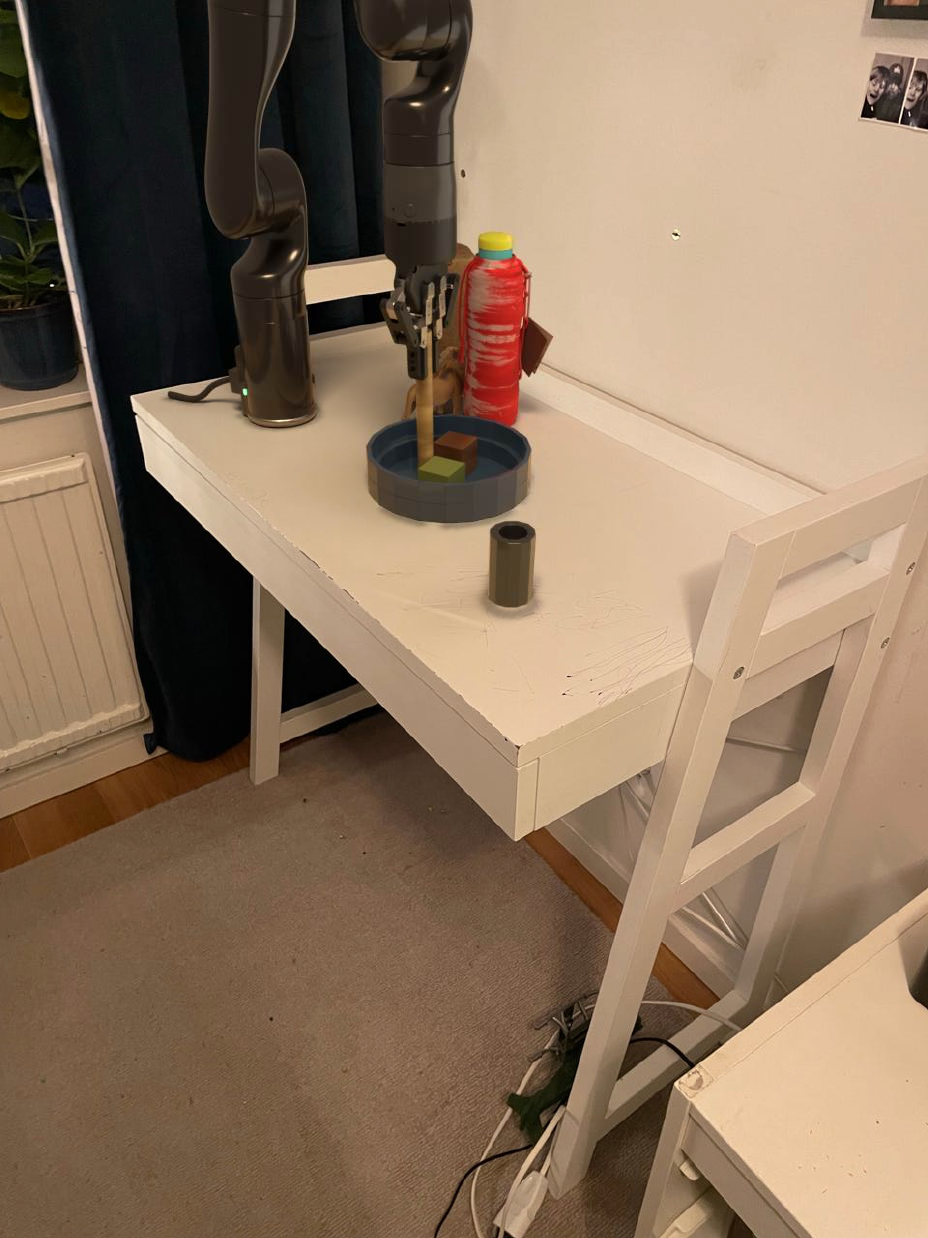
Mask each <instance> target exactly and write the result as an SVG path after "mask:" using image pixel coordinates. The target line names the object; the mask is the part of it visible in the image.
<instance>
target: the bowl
mask: <svg viewBox="0 0 928 1238" xmlns="http://www.w3.org/2000/svg"><path fill="white" fill-rule="evenodd" d="M448 431H453V432H457V433H461V434H465V435H470V436H474V437H478V449H477V467H476V468H475V469H474V470H473V471H472V472H471V473H469V474H468V475H467V476H466V477H465V482H459V483H439V482H428V481H419V480H418V455H417V416H415V417H410V418H409V419H404V420H401V419H400V420H399V421H396V422H393V423H391V424H387V425H386V426H384V427H383V428H381V429H380V430H378V431H377V432H375V433H374V434H372V436H371V437H370V439H369V441H368V442H367V444H366V446H365V449H366V451H365V452H366V453H365V454H366V469H367V483H368V492H369V493H368V494H369V495H370V496H371V497H372V499H374V501H376V503H377V504H378V505H379V506H381V507H382V508H384V509H386V510H388V511H390V512H392V513H394V514H396V515H399V516H401V517H405V518H409V519H412V520H416V521H420V522H421V521H422V522H432V523H442V524H449V523H451V524H452V523H453V524H454V523H468V522H476V521H480V520H485V519H489V518H493V517H498V516H500V515H502V514H504V513H506V512H508V511H510V510H512V509H514V508H516V507H517V506H518V505H519V504H520V503H521V502H522V501H523V500H524V499H525V498H526V497H527V495H528V492H529V488H530V485H531V470H532V469H531V467H532V450H533V449H532V447H531V444H530V442H529V440H528V438H527V436H525V435H524V434H522V433H521V432H520V431H519V430H517V429H516V428H515V427H513V426H508V425H506V424H503V423H501V422H498V421H495V420H491V419H486V418H482V417H478V416H469V415H465V414H460V415H457V414H453V413H442V414H433V443H434V442H435V441H436V440H438V439H439V438H440V437H442V436H443V435H444V434H446V433H447V432H448Z"/></svg>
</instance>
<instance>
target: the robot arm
mask: <svg viewBox="0 0 928 1238" xmlns="http://www.w3.org/2000/svg"><path fill="white" fill-rule="evenodd" d="M296 3H297V0H207V14H208V15H207V16H208V39H209V40H208V43H209V44H208V45H209V49H208V50H209V53H208V56H209V60H208V64H209V65H208V66H209V67H208V68H209V72H208V74H209V75H208V76H209V77H208V78H209V84H208V85H209V86H208V87H209V90H208V92H209V93H208V112H207V113H208V116H207V129H206V130H207V132H206V143H205V158H204V175H203V176H204V178H203V179H204V193H205V194H204V195H205V201H206V206H207V209H208V213H209V216H210V218H211V219H212V222H213V224H214V225H215V227H216V229H217V230H218V231H219V232H220V233H221V234H222V235H223V236H225V237H227V238H229V239H231V240H246V239H251V240H250V242H249V245H248V247H247V249H246V250H245V252H244V253H243V254H242V256H241V257H240V258H238V260H237V261H235V263H234V264H233V265H232V266H231V269H230V282H231V283H230V284H231V290H232V299H233V306H234V314H235V319H236V329H237V336H238V343H239V345H237V346H235V347H234V357H235V363H236V364H235V365H236V366H234V367H232V368H231V369H228V376H224V377H221V378H218V379H216V380H214V381H212V382H210V383H209V384H208V385H207V386H206V387H204V389H203V390H202V391H201V392H200V393H198V394H195V395H190V394H189V395H188V394H184V393H180V392H177V391H173V390H169V391H167V397H168V398H172V399H176V400H180V401H183V402H187V403H188V402H189V403H195V402H200V401H202V400H205V398H207V397H208V396H209V394H211V392H212V391H213V390H215V389H216V388H218V387H221V386H224V385H226V384H229V385H230V392H231V393H232V394H236V395H240V402H241V409H242V415H243V416H246V417H248V419H249V420H250V421H251V422H252V423H254V424H256V425H259V426H264V427H269V428H286V427H293V426H298V425H301V424H304V423H307V422H309V421H311V420H312V419H314V418H315V417H316V415H317V404H316V398H315V397H316V396H315V388H314V387H317V386H316V385H317V384H316V383H317V382H316V375H315V374H314V372H313V363H312V351H311V339H310V330H309V319H308V308H307V307H308V306H307V297H306V295H307V294H306V283H305V274H306V271H307V268H308V265H309V264H308V263H309V236H308V235H309V233H308V231H309V229H308V207H307V196H306V190H305V189H306V188H305V185H304V180H303V176H302V174H301V172H300V169H299V167H298V165H297V163H296V162H295V161H294V159H293V158H292V157H291V155H289V154H288V153H287V152H285V151H284V150H281V149H280V148H276V147H265V148H260V139H261V138H260V137H261V127H262V120H263V117H264V116H263V115H264V110H265V108H266V105H267V102H268V99H269V96H270V94H271V91H272V89H273V88H274V87H273V86H274V85H275V83H276V81H277V78H278V77H279V73H280V72H281V69H282V67H283V64H284V62H285V60H286V57H287V54H288V52H289V49H290V47H291V43H292V40H293V36H294V31H295V25H296V23H295V22H296V5H297V4H296ZM352 4H353V9H354V15H355V20H356V25H357V28H358V31H359V34H360V37H361V39H362V41H363V42H364V44H365V45H366V47H367V48H368V49H369V50H370V51H371V53H372V54H374V55H375V56H376V57H377V58H379V59H380V60H382V61H384V62H387V63H395V64H396V63H409V62H411V63H412V62H416V67H415V69H414V70H415V71H414V73H413V77H412V79H411V82H410V83H408V85H406V86H405V87H403V88H401V89H398V90H397V91H394V92H392V93H390V94H389V95H387V96H386V97H385V98H384V100H383V102H382V105H381V106H382V107H381V129H382V130H381V133H382V136H381V137H382V152H383V153H382V157H383V161H382V163H383V165H382V180H381V197H382V217H383V218H382V221H383V244H384V246H383V247H384V256H385V257H386V259H387V260H388V261H390V262H392V264H393V265H394V267H395V272H394V278H393V289H394V291H393V293H392V294H391V295H390V297H389V299H388V298H385V297H384V298H381V300H380V302H379V309H380V312H381V314H382V317H383V320H384V322H385V325H386V326H387V329H388V331H389V334H390V336H391V338H392V341H393V344H395V345H400V346H405V347H406V365H407V376H408V378H410V379H412V380H415V381H416V380H421V381H423V380H425V379H426V378H427V377H428V347H427V346H426V345H427V328H429V329H431V330H432V374H434V373H435V372H437V371H438V370H439V339H440V338H441V337H442V333H443V331H442V330H443V329H444V328H446V329H448V328H449V326H450V322H451V318H452V314H453V309H454V305H455V301H456V296H457V292H458V288H459V284H460V275H459V274H456V273H450V272H448V265H447V263H448V262H450V261H452V260H453V259H454V258H455V257H456V255H457V243H458V183H457V182H458V181H457V175H456V163H455V161H456V160H455V158H456V156H455V151H456V150H455V149H456V148H455V147H456V142H455V141H456V139H455V138H456V137H455V136H456V135H455V134H456V131H455V114H456V110H457V105H458V101H459V98H460V93H461V89H462V84H463V81H464V76H465V72H466V67H467V63H468V58H469V54H470V49H471V45H472V38H473V30H474V13H473V6H472V0H352ZM416 327H417V328H418V335H417V333H416V330H415V329H416Z"/></svg>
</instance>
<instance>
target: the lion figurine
mask: <svg viewBox="0 0 928 1238" xmlns="http://www.w3.org/2000/svg"><path fill="white" fill-rule="evenodd" d="M458 351H459V348H458V347H447V348H446V350H445V351H443V352H442V353H441V354H440V359H439V371H438V376H437V377H436V378H434V379H433V407H436V411H435V412H436V414H437V415H441V414H445V407H444V404H446V403H448V401H450V400H451V401H452V406H453V407H452V408H453V409H452V414H457V415H461V413H460V410H461V405H462V397H461V393H462V392H463V391H464V379H465V367H466V356H465V355H464V353H463V357H464V363H461V361H458ZM415 410H416V382H415V383H413V384H412V385H411V386H410V388H409V389H408V390H407V395H406V403H405V408H404V412H403V415H402V417H401V418H400V421H401V420H404V419H409V418H411V416H412V414H413V413H414V411H415Z"/></svg>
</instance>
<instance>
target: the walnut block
mask: <svg viewBox="0 0 928 1238" xmlns="http://www.w3.org/2000/svg"><path fill="white" fill-rule="evenodd" d="M433 447H434V456H438V457H442V458H446V459H450V460H454V461H458V462H462V463H465V477H466V476H467V475H468V474H469V473H471V472H472V471H473V470H474V469H475V468H476V467H477V449H478V437H474V436H470V435H465V434H461V433H457V432H453V431H448V432H447V433H446V434H444V435H443V436H442V437H440V438H439V439H438V440H436V441H435V442H434V443H433Z"/></svg>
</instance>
